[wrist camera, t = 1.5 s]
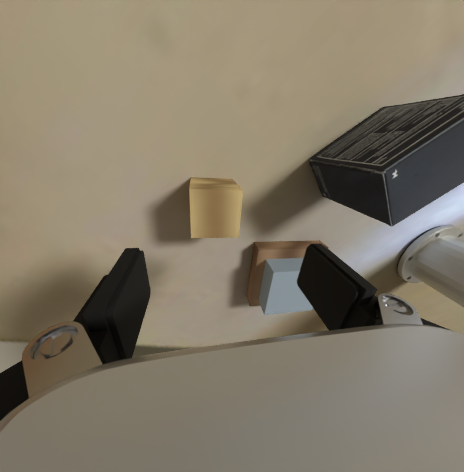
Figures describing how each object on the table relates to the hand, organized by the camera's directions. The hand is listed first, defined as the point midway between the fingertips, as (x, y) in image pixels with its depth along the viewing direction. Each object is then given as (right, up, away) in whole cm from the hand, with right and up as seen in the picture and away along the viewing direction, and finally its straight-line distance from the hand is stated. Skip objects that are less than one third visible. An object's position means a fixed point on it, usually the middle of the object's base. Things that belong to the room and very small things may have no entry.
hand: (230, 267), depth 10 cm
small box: (+16, +12, +13) cm, 24 cm away
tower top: (+9, -5, +18) cm, 21 cm away
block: (-3, +7, +13) cm, 14 cm away
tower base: (+8, -4, +21) cm, 23 cm away
